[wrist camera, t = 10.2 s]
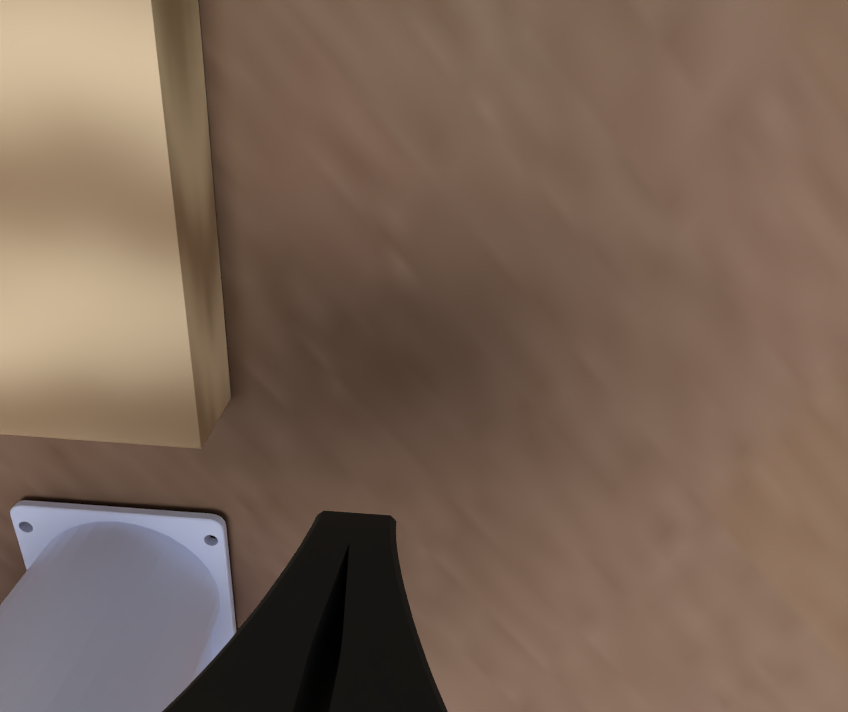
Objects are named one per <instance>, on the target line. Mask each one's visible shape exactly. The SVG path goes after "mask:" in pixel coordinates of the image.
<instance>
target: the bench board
mask: <svg viewBox="0 0 848 712" xmlns="http://www.w3.org/2000/svg"><path fill="white" fill-rule="evenodd" d="M230 399H231V392H230V380H229V367H228V355H227V343H226V331H225V319H224V307H223V294H222V282H221V270H220V258H219V246H218V234H217V222H216V209H215V197H214V185H213V173H212V161H211V149H210V137H209V124H208V112H207V100H206V88H205V76H204V64H203V52H202V39H201V27H200V15H199V3H198V0H0V434H6V435H20V436H34V437H47V438H61V439H75V440H88V441H102V442H116V443H129V444H143V445H157V446H171V447H184V448H198V449H201V448H202V446H203V445H204V443H205V441H206V439H207V438H208V436H209V434H210V433H211V431H212V429H213V428H214V426H215V424H216V423H217V421H218V419H219V417H220V416H221V414H222V412H223V411H224V409H225V407H226V406H227V404H228V402H229V400H230Z"/></svg>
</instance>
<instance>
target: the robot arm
mask: <svg viewBox="0 0 848 712" xmlns="http://www.w3.org/2000/svg"><path fill="white" fill-rule="evenodd" d="M10 515H11V519H12V522H13V526H14V529H15V532H16V536H17V539H18V543H19V546H20V549H21V553H22V556H23V560H24V563H25V566H26V570H27V571H26V572H25V574H24V575H23V576H22V578H21V579H20V580H19V581H18V583H17V584H16V585H15V587H14V588H13V589H12V590H11V592H10V593H9V594H8V596H7V597H6V598H5V599H4V601H3V602H2V603H1V605H0V712H447V709H446V707H445V705H444V702H443V700H442V698H441V695H440V693H439V690H438V688H437V686H436V683H435V681H434V678H433V676H432V673H431V670H430V668H429V665H428V662H427V660H426V657H425V654H424V651H423V648H422V645H421V642H420V639H419V637H418V634H417V630H416V627H415V624H414V621H413V618H412V614H411V610H410V606H409V603H408V599H407V595H406V592H405V588H404V584H403V579H402V575H401V569H400V564H399V559H398V552H397V544H396V521H395V520H394V519H393V518H392V517H391V516H389V515H375V514H361V513H347V512H334V511H323V512H321V513H320V514H318V515H317V517H316V519H315V521H314V523H313V525H312V526H311V528H310V530H309V532H308V533H307V535H306V537H305V538H304V540H303V542H302V543H301V545H300V547H299V548H298V550H297V551H296V553H295V554H294V556H293V557H292V559H291V560H290V562H289V563H288V565H287V566H286V568H285V569H284V571H283V572H282V573H281V575H280V576H279V578H278V579H277V580H276V582H275V583H274V584H273V586H272V587H271V589H270V590H269V591H268V593H267V594H266V596H265V597H264V598H263V600H262V601H261V602H260V604H259V605H258V606H257V607H256V609H255V610H254V611H253V612H252V614H251V615H250V616H249V617H248V618H247V620H246V621H245V622H244V623H243V625H242V626H241V627H240V628H239V630H238V631H237V632H236V622H235V612H234V601H233V591H232V581H231V570H230V560H229V550H228V539H227V529H226V523H225V521H224V520H223V518H222V517H220V516H218V515H215V514H209V513H195V512H182V511H168V510H154V509H140V508H127V507H113V506H99V505H85V504H71V503H58V502H44V501H30V500H22V501H19V502H17V503H16V504H15V505H14V506H13V507H12V509H11V511H10ZM27 522H28V523H27ZM209 535H212V536H215V537H216V538H212V537H210V536H209Z"/></svg>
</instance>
